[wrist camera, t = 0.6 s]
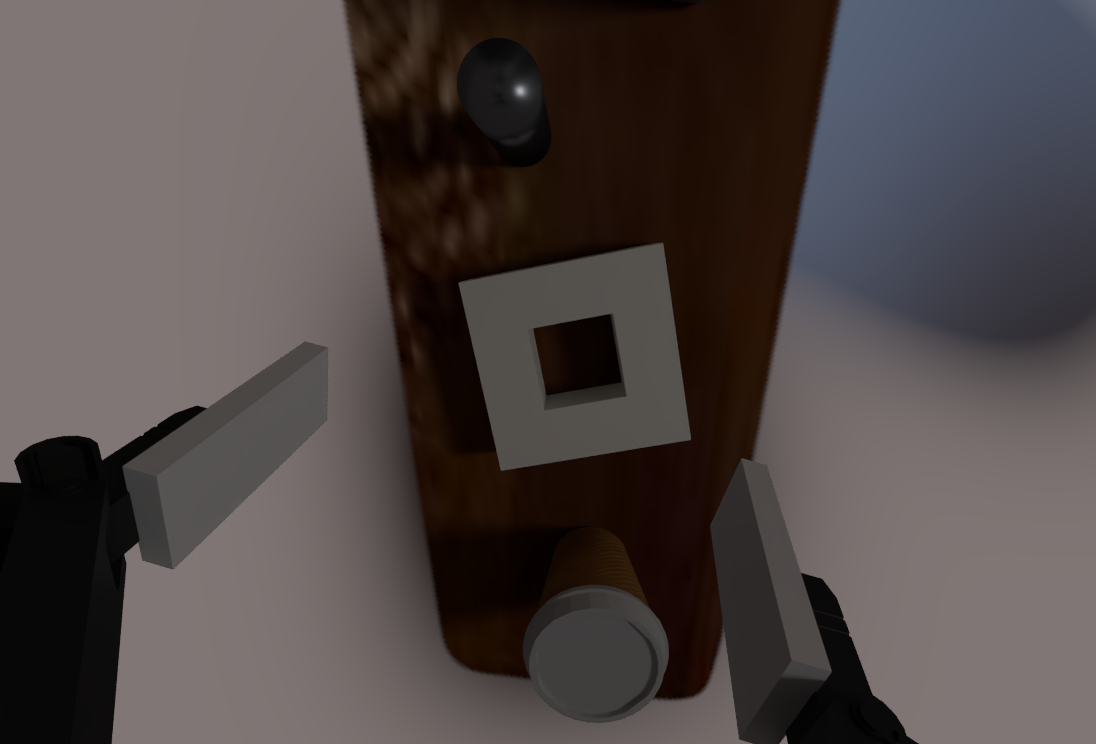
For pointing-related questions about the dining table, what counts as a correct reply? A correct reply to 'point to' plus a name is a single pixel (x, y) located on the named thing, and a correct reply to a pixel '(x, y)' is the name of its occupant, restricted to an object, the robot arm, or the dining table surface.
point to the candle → (691, 1)
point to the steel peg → (506, 99)
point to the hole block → (588, 414)
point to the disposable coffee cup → (594, 632)
